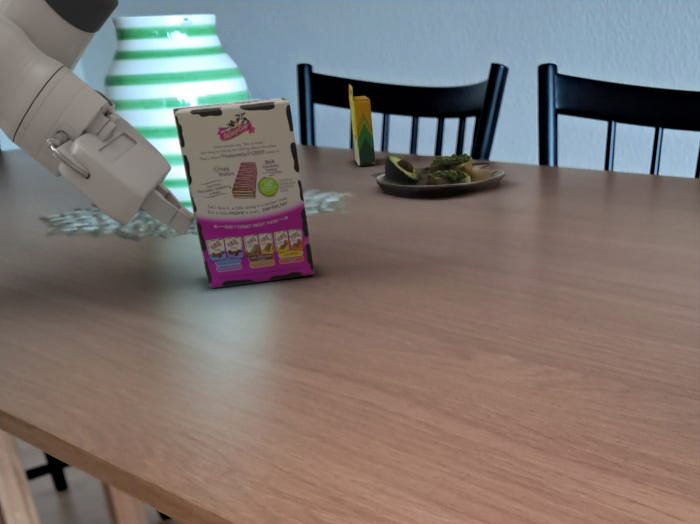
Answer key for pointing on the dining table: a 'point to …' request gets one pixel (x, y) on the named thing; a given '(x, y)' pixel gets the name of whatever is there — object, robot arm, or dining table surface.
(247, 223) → the candy bar box
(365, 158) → the crayon box
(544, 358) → the dining table surface
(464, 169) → the salad plate
